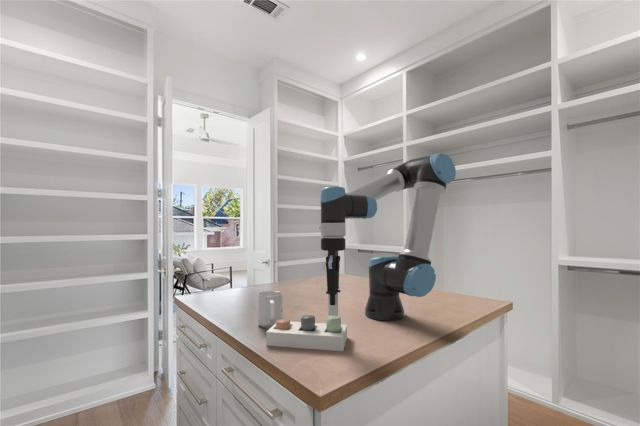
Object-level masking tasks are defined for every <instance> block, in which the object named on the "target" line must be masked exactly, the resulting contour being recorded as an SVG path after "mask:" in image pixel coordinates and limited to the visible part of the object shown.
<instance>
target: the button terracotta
mask: <svg viewBox="0 0 640 426" xmlns="http://www.w3.org/2000/svg"><path fill="white" fill-rule="evenodd" d="M290 321H291V320H290V319H287V318H283V319H280V320H277V321H276V329H281V330H289V329H290Z"/></svg>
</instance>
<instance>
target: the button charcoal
mask: <svg viewBox="0 0 640 426" xmlns="http://www.w3.org/2000/svg"><path fill="white" fill-rule="evenodd" d="M300 322H301V331H313V332H314V331H315V323H316V316H315V315H312V314H304V315H301V316H300Z"/></svg>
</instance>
